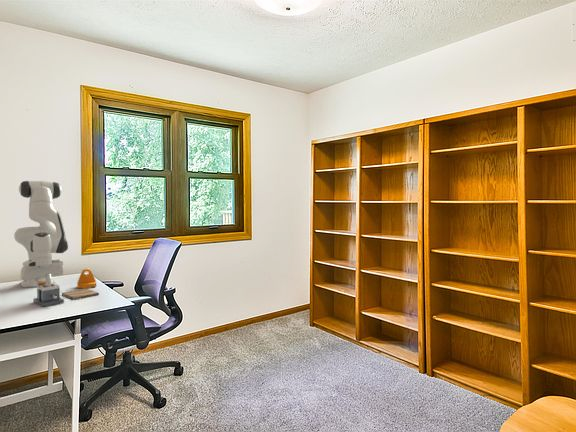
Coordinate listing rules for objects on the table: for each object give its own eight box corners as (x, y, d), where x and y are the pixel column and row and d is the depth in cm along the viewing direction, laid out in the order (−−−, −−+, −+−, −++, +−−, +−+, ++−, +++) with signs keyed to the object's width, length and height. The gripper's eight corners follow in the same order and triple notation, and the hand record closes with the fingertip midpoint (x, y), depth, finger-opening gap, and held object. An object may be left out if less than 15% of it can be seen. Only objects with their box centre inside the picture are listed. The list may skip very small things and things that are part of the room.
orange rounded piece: (77, 289, 226) (77, 270, 225) (77, 286, 232) (77, 268, 232) (96, 287, 232) (96, 269, 231) (95, 285, 238) (95, 267, 237)
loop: (32, 286, 200) (32, 282, 200) (48, 284, 206) (48, 279, 206) (42, 291, 191) (42, 286, 191) (59, 288, 197) (59, 283, 197)
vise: (33, 302, 197) (32, 273, 196) (53, 298, 205) (53, 271, 204) (45, 308, 187) (44, 278, 186) (66, 303, 195) (65, 275, 194)
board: (62, 295, 212) (62, 293, 212) (86, 290, 223) (86, 288, 223) (73, 299, 203) (73, 297, 203) (98, 294, 214) (98, 292, 214)
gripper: (60, 258, 211) (60, 281, 211) (19, 263, 194) (19, 287, 195) (64, 259, 207) (65, 283, 208) (23, 264, 191) (23, 289, 191)
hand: (42, 285), depth 201 cm, fingers closed on loop, 2 cm apart
